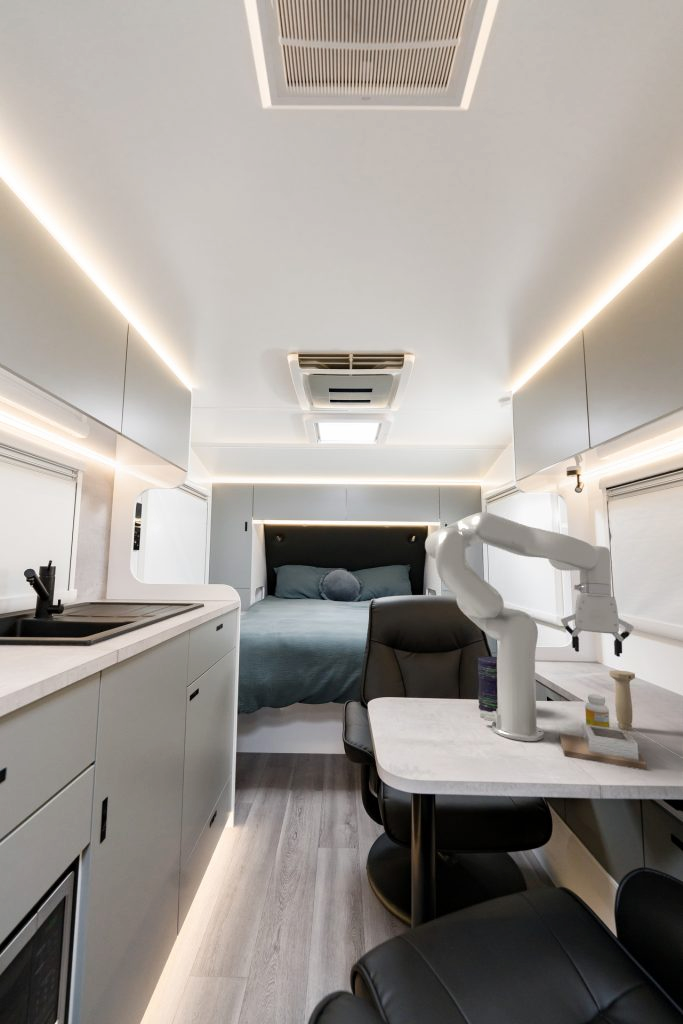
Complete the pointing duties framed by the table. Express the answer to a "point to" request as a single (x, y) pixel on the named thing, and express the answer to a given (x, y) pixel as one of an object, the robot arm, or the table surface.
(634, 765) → the mount plate
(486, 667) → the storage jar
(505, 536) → the robot arm
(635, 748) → the socket
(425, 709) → the table surface
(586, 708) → the supplement bottle
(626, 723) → the handle
